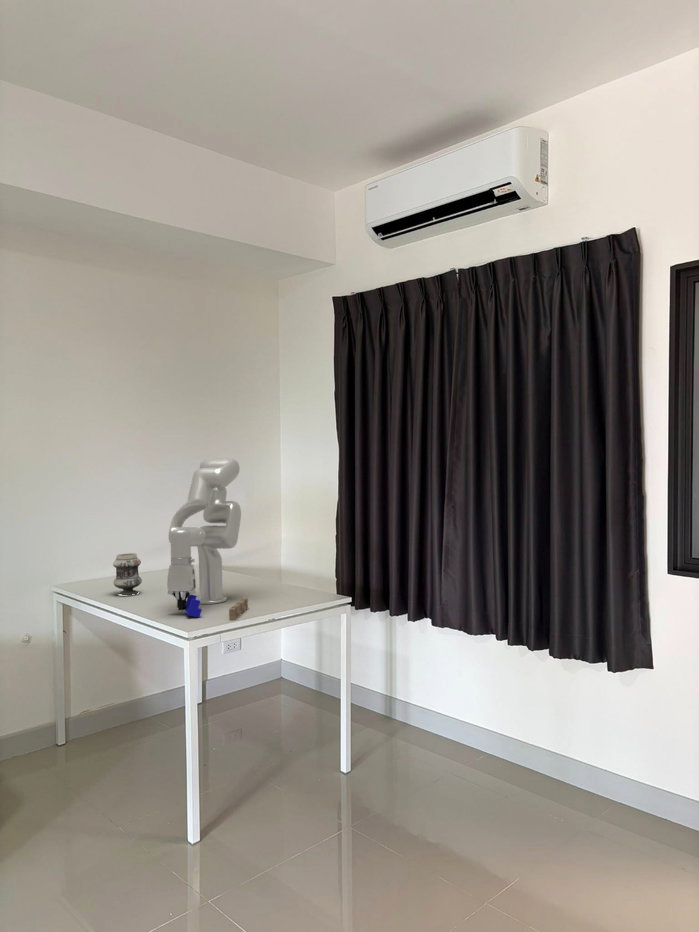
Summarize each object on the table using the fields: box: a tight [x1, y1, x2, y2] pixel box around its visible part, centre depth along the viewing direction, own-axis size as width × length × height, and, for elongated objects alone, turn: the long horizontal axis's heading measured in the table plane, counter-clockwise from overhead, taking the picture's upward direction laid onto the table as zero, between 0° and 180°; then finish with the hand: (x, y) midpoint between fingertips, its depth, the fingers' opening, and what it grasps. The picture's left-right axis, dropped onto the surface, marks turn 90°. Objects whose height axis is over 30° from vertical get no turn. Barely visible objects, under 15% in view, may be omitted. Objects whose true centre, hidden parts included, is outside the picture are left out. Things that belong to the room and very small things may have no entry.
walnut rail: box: [228, 597, 249, 621], centre depth 266 cm, size 20×2×4 cm, turn 174°
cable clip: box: [183, 594, 203, 618], centre depth 266 cm, size 12×4×6 cm, turn 20°
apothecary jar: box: [112, 552, 143, 595], centre depth 311 cm, size 12×12×18 cm
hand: (181, 609), depth 267 cm, fingers closed
